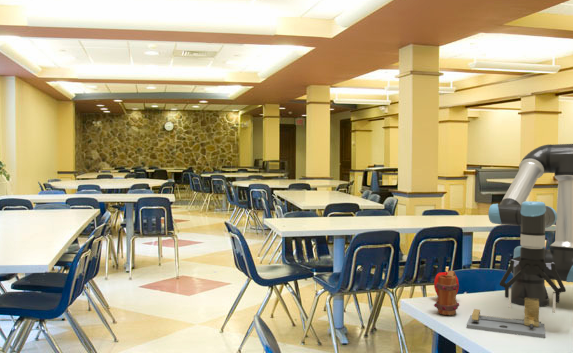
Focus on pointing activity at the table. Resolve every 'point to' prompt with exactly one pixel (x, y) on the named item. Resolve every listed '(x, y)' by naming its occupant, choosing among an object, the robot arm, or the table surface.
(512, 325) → the flange plate
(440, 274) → the apple
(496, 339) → the table surface
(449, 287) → the mug
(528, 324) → the block
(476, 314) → the beam
